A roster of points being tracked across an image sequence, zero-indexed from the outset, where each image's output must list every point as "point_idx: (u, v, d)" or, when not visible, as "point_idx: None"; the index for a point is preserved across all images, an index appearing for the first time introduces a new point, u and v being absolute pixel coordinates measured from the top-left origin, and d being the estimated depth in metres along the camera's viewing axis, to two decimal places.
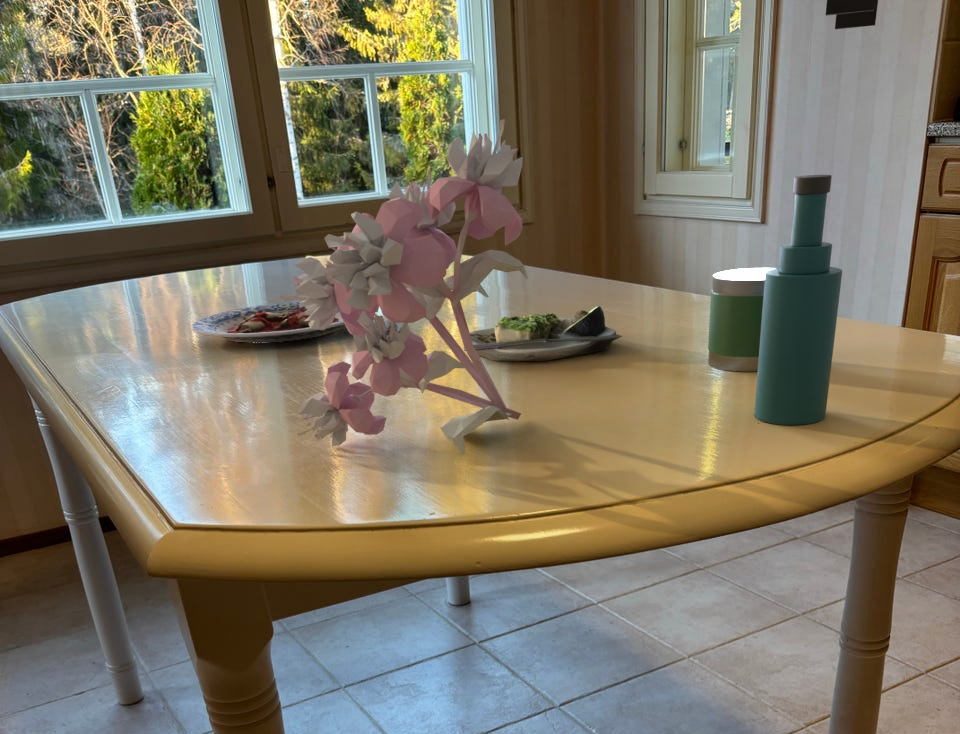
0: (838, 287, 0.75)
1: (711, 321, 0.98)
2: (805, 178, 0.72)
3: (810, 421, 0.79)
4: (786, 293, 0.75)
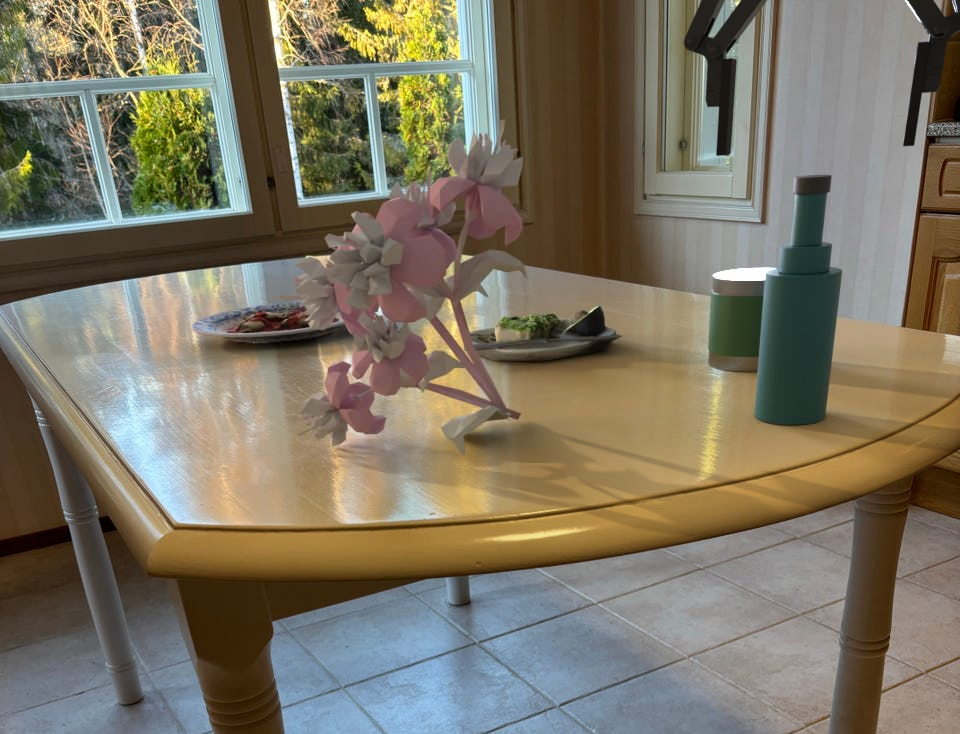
0: (838, 287, 0.75)
1: (711, 321, 0.98)
2: (805, 178, 0.72)
3: (810, 421, 0.79)
4: (786, 293, 0.75)
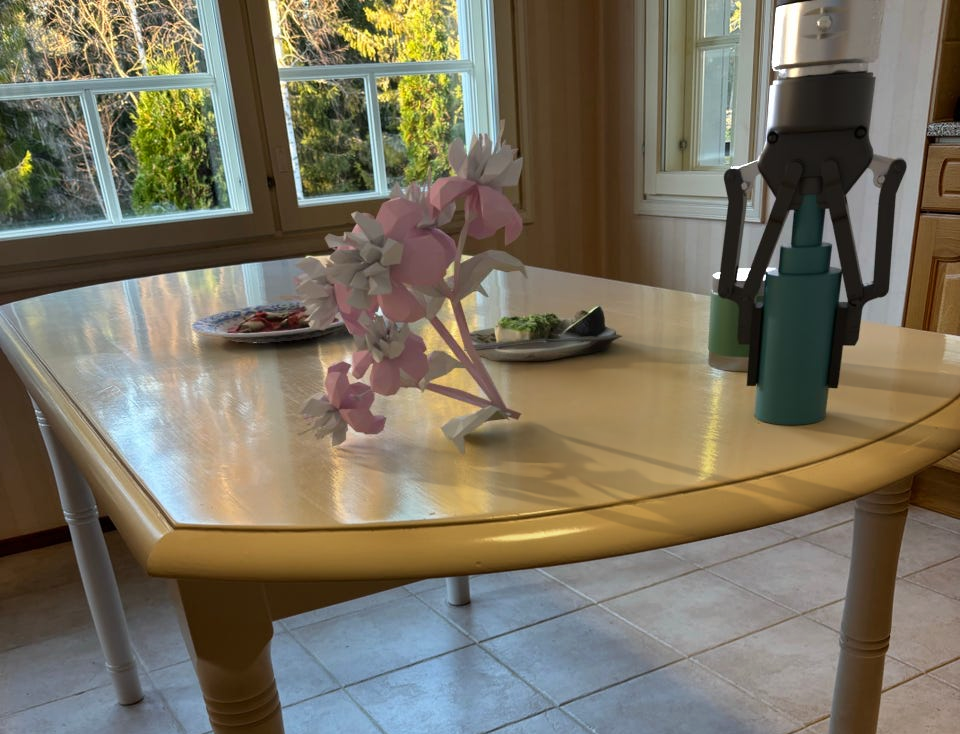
0: (838, 287, 0.75)
1: (711, 321, 0.98)
2: (805, 178, 0.72)
3: (810, 421, 0.79)
4: (786, 293, 0.75)
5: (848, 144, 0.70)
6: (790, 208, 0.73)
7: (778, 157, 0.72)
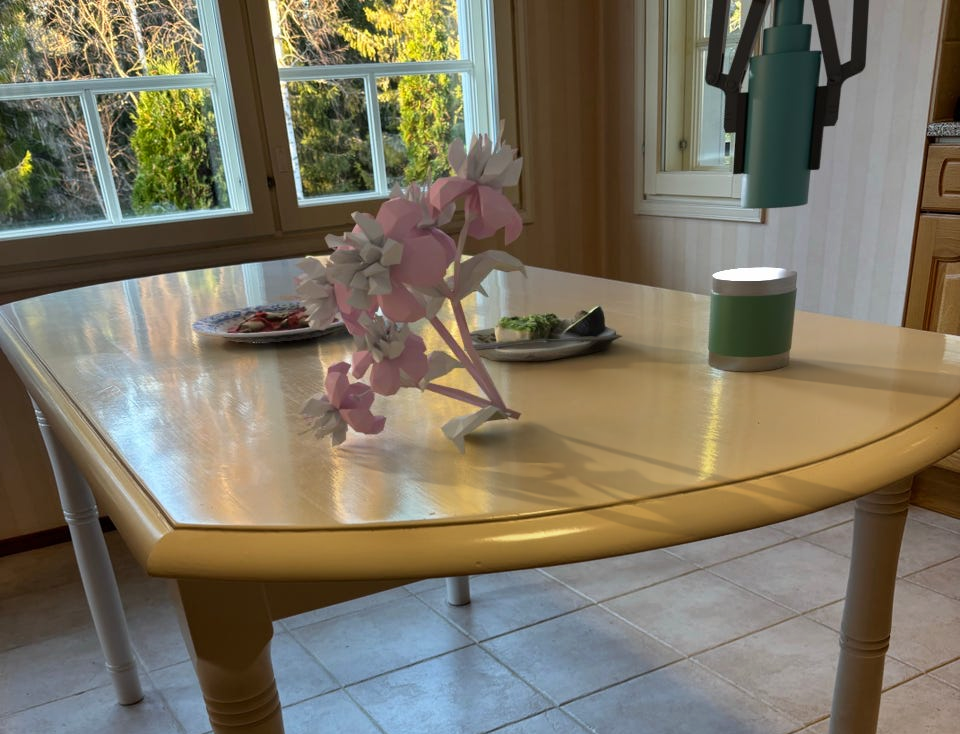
0: (818, 66, 0.80)
1: (711, 321, 0.98)
2: None
3: (793, 204, 0.84)
4: (769, 72, 0.79)
5: None
6: None
7: None
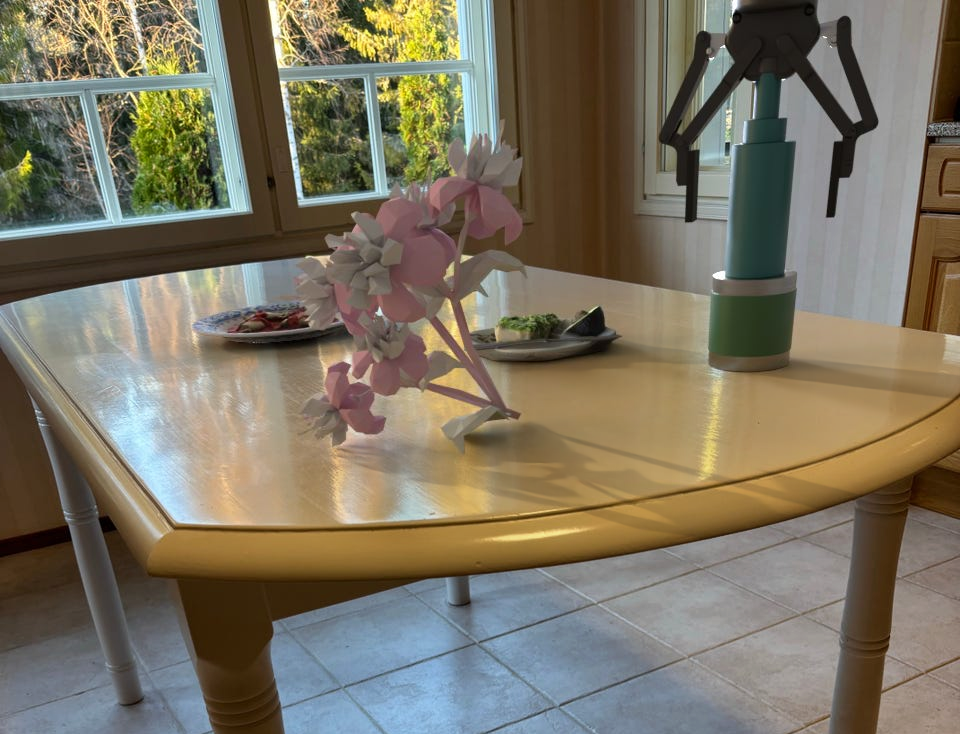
0: (792, 154, 0.89)
1: (711, 321, 0.98)
2: (763, 58, 0.86)
3: (771, 275, 0.93)
4: (748, 160, 0.89)
5: (799, 21, 0.84)
6: (752, 80, 0.87)
7: (741, 35, 0.86)
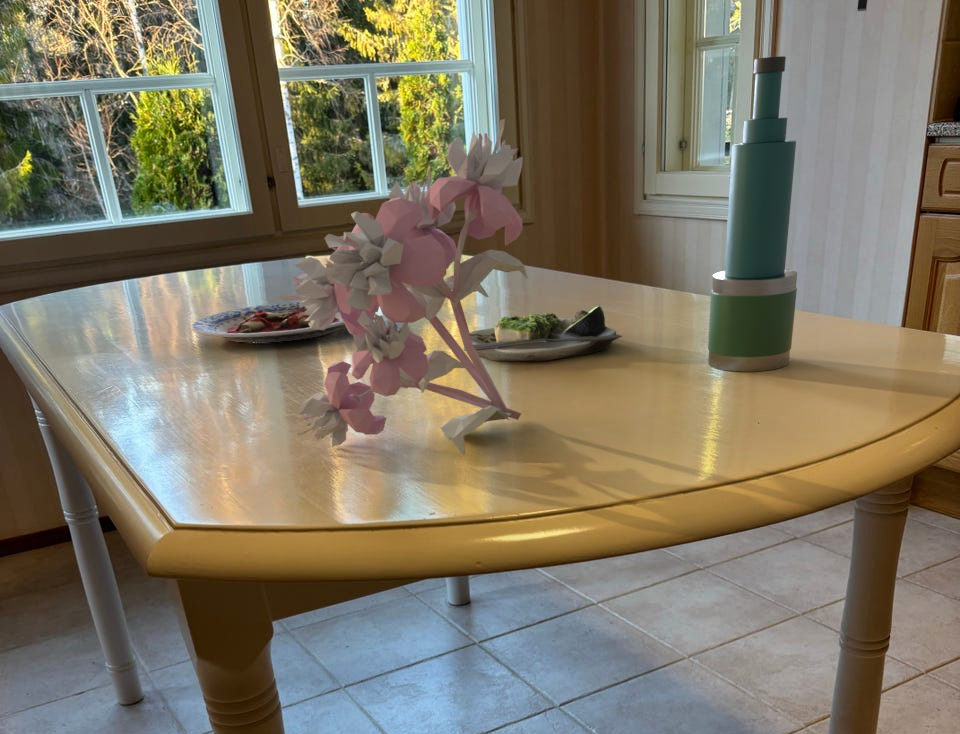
0: (792, 154, 0.89)
1: (711, 321, 0.98)
2: (763, 58, 0.86)
3: (771, 275, 0.93)
4: (748, 160, 0.89)
5: None
6: None
7: None
